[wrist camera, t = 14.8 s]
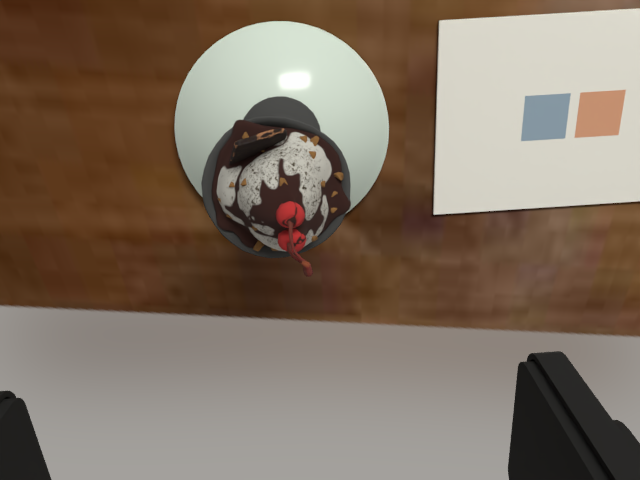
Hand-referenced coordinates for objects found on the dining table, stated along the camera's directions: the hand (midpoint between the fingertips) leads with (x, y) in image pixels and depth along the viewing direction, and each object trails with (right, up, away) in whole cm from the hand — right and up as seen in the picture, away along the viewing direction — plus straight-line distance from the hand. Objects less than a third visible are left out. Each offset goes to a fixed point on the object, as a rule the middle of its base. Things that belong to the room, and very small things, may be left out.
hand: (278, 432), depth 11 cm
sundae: (-2, +10, +24) cm, 26 cm away
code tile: (+16, +11, +25) cm, 32 cm away
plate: (-2, +10, +24) cm, 26 cm away
